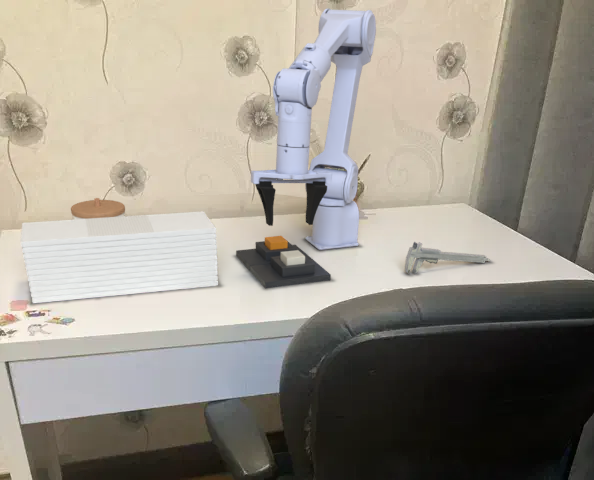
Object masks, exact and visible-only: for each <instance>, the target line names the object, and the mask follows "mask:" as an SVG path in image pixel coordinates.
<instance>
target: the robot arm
mask: <svg viewBox="0 0 594 480" xmlns="http://www.w3.org/2000/svg"><path fill="white" fill-rule="evenodd" d="M376 36H377V21H376V16H375V14H374V11H372V10H371V9H367V10H357V9H332V8H329V7H328V8H325V9H323V11H322V12H321V14H320V16H319V20H318V35H317V37H316V38H315V40H314V42H312V43H311V42H308V43H306V44H305V46H304V47H303V48H302V49H301V51H300V52H299V53H298V55H297V56H296V57H295V59H294V60H293V61H292V63H291V64H290V66H289V67H288V68H286V67H285V68H284V67H283V68H282V69H281V70H279V71H277V72H276V74H275V77H274V80H273V85H272V96H273V100H274V113H275V116H277V130H276V131H277V132H276V133H277V134H276V139H277V140H276V159H275V169H264V170H263V169H261V170H251V171H250V183H252V184H253V185H255V188H256V191H257V193H258V195H259V198H260V201H261V203H262V207H263V210H264V217H265V224H266V225H268V226H269V227H270V226H271V227H272V226H273V225H274V205H275V204H274V202H275V196H276V188H274V185H273V184H305V185H304V188H305V193H306V207H305V223H306V224H307V225H309V226H312V230H311V231H312V232H311V235H309V236H304V239H305V240H306V241H307V242H309V243H310V244H311V245H312V246H314V247H315V249H317V250H319V251H323V250H332V249H341V248H350V247H358V246H359V245H360V244H359V242H358V238H359V226H360V210H359V207H358V204H357V202H356V201H355V200H354V199H355V198H356V195H357V191H358V185H359V180H358V179H359V178H358V176H359V167H358V164H357V163H356V162H355V161H354V159H353V158H352V157H351V156H350V155H349V154H348V153H349V147H350V140H351V135H352V129H353V122H354V117H355V111H356V104H357V98H358V92H359V85H360V81H361V75H362V72H363V71H362V70H363V67H364V66H365V65H367V64H369V63H370V62H371V60H372V55H373V53H374V46H375V41H376ZM332 63H333V64H335V67H336V71H335V72H336V73H335V78H334V85H333V89H332V90H333V91H332V97H331V104H330V110H329V116H328V117H329V118H328V121H327V122H328V123H327V130H326V134H325V135H326V136H325V141H324V148H323V151H321V152H320V153H319V154H317V155H316V156H315V157H313V158H312V159H311V161H310V146H311V145H310V144H311V130H312V129H311V128H312V113H313V112H312V111H313V107H315V106H316V105H317V102H318V98H319V95H320V94H319V93H320V90H321V87H322V82H323V79H325V77H326V76H327V74H328V72H329V71H330V69H331V67H332ZM309 161H310V164H309Z"/></svg>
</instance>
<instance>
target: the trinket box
mask: <svg viewBox="0 0 594 480" xmlns="http://www.w3.org/2000/svg"><path fill="white" fill-rule="evenodd" d="M70 213H71V215H72V220H73V219H89V218H105V217H121V216H126V206H125V204H124V203H123V202H120V201H117V200H111V199H100V198H99V197H95V198H93V199H90V200H84V201H81V202H77V203H75V204H73V205H71V207H70Z"/></svg>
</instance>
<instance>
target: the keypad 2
mask: <svg viewBox="0 0 594 480" xmlns="http://www.w3.org/2000/svg"><path fill="white" fill-rule="evenodd" d="M249 272H250V273H251V274H252V275H253V276H254V277H255V279H256V280H257V281H258V282H259V283H260V284H261V285H262V286H263V288H264V289H271V288H280V287H288V286H296V285H304V284H313V283H320V282H328V281H331V278H332V277H331V275H332V274H331V273H329V271H327V270H326V269H325V268H324V267H323V266H322V265H320V264H319V263H318V262H317V261H315V259H314V258H312V259H308V258H307V257H306V256H305V264H297V265H288V266H286V265H285V264H284V263H283V262H282V261H281V256H275V257H271V264H262V265H253V266H250V271H249Z"/></svg>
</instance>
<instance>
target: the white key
mask: <svg viewBox="0 0 594 480" xmlns="http://www.w3.org/2000/svg"><path fill="white" fill-rule="evenodd" d="M281 261H282V262H283V263H284V264H285V265H286V266H288V265H297V264H305V256H304V255H303V254H302V253H301V252H300V251H299V250H295V251H285V252H281Z"/></svg>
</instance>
